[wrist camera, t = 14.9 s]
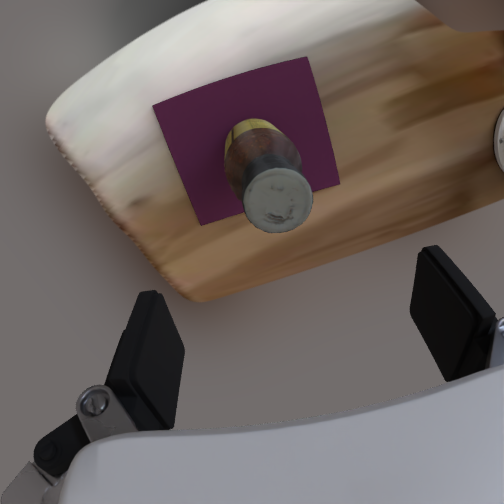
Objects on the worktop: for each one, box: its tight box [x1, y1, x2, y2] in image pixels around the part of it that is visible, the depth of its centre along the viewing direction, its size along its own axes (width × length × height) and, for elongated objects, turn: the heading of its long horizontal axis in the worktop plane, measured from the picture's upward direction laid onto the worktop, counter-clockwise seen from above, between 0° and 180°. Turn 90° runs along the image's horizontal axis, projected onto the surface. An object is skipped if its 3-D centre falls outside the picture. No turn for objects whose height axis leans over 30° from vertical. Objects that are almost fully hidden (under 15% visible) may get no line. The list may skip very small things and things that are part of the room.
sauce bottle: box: [225, 119, 313, 233], centre depth 27 cm, size 7×6×20 cm
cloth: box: [153, 57, 340, 226], centre depth 35 cm, size 18×16×1 cm
